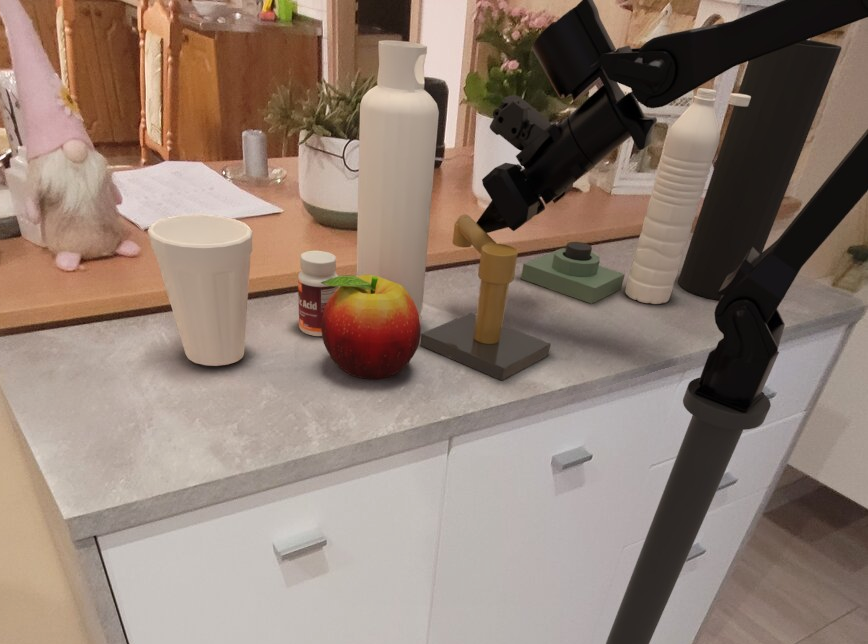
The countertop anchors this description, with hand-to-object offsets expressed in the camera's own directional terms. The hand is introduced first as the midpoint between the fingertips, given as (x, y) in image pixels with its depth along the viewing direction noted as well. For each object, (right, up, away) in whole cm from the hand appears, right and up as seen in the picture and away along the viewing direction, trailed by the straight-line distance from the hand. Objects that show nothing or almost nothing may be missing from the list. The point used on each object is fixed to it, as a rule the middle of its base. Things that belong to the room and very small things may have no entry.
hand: (477, 230), depth 89 cm
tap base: (+1, -16, -2) cm, 16 cm away
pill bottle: (-19, -13, -2) cm, 23 cm away
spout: (0, -6, -4) cm, 7 cm away
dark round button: (+15, +4, +15) cm, 22 cm away
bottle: (-11, -12, 0) cm, 16 cm away
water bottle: (+27, -2, +16) cm, 31 cm away
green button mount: (+15, +1, +17) cm, 23 cm away
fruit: (-13, -20, -8) cm, 25 cm away
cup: (-30, -19, -9) cm, 36 cm away
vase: (+37, +2, +21) cm, 43 cm away
